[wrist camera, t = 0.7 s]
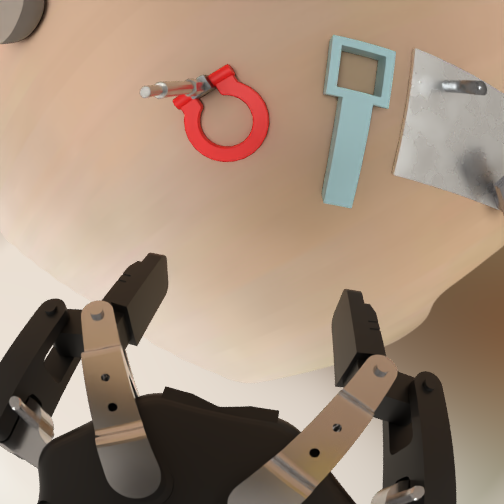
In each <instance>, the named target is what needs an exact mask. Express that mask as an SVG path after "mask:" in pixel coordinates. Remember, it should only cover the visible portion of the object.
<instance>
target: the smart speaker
mask: <svg viewBox="0 0 504 504" xmlns="http://www.w3.org/2000/svg"><path fill="white" fill-rule="evenodd" d="M43 11H44V0H0V44H9V43H14V42H18V41H20V40H23V39H24V38H26V37H27V36H29V35H30V34H31V33H32V32H33V30H34V29H35V28H36V26H37V25H38V23H39V21H40V19H41V17H42V14H43Z"/></svg>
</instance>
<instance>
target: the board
mask: <svg viewBox="0 0 504 504" xmlns="http://www.w3.org/2000/svg"><path fill="white" fill-rule="evenodd" d="M445 80H476V81H482V80H481V79H479V78H477V77H475V76H474V75H472V74H470V73H468V72H466V71H464V70H462V69H461V68H459V67H457V66H455V65H453V64H451V63H448V62H446V61H444V60H442V59H440V58H438V57H435V56H433V55H431V54H428V53H426V52H424V51H421V50H419V49H416V48H414V49H413V50H412V60H411V70H410V78H409V86H408V93H407V99H406V106H405V112H404V117H403V123H402V128H401V133H400V138H399V143H398V148H397V152H396V157H395V161H394V165H393V170H392V174H393V175H396V176H399V177H403V178H407V179H410V180H414V181H417V182H421V183H424V184H427V185H430V186H434V187H437V188H440V189H443V190H446V191H449V192H452V193H455V194H458V195H461V196H464V197H466V198H469V199H472V200H475V201H477V202H480V203H482V204H485V205H488V206H490V207H493V208H495V209H498V208H497V206H496V203H495V200H494V197H493V196H494V195H495V194H496V193H497V192H496V189H495V187H494V184H495V183H496V182H497V181H498V180H499V179H501V178H502V177H503V176H504V94H503V93H502V92H500V91H499V90H497V89H496V88H494V87H492V86H491V85H489V84H487V83H486V82H484V81H483V82H484V83H485V84H486V86H487V94H486V95H474V94H464V93H450V92H446V91H445V90H444V89H443V87H442V83H443V82H444V81H445ZM498 210H499V209H498ZM500 211H501V210H500Z"/></svg>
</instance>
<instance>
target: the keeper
mask: <svg viewBox="0 0 504 504" xmlns="http://www.w3.org/2000/svg"><path fill="white" fill-rule="evenodd" d="M494 187H495V189H496V192H497V193H496V194H495V195H494V196H493V197H494V200H495V203H496V206H497V208H498V209H499V210H501V211H502V212H503V214H504V176H503V177H502V178H501V179H499V180H498V181H497V182H496V183H495V184H494Z"/></svg>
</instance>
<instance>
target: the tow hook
mask: <svg viewBox="0 0 504 504" xmlns="http://www.w3.org/2000/svg"><path fill="white" fill-rule="evenodd" d="M234 75H235V72H234V71H233V69H232V68H231V66H230V65H228V64H227V65H225V66H223V67H222V68H220V69H218V70H217V71H215V72H213V73H212V74H210V75H209V76H208V75H201V76H199V77H198V78H196V79H187V80H185V81H171V82H158V83H156V84H155V85H151V86H144V87H142V88H141V90H140V95H141V97H143V98H148V97H156V98H158V99H161V98H166V97H173V96H177V97H176V98H175V99H173V103H174V105H175V106H176V107H177V108H178V109H179V110H182V111H183V113H184V114H185V117H184V124H185V131H186V134H187V136H188V139H189V141H190V142H191V143H192V145H193V146H194V148H195V149H196V150H198V151H199V152H200V153H201V154H202V155H204V156H206V157H208V158H210V159H212V160H217V161H222V162H231V161H237V160H240V159H244V158H246V157H247V156H249V155H251V154H252V153H254V152H255V151H256V150H257V149H258V148H259V147H260V146H261V144H262V142H263V140H264V139H265V137H266V135H267V131H268V127H269V113H268V110H267V107H266V104H265V102H264V101H263V99H262V98H261V96H260V95H259V94H258V93H257V92H256V91H255V90H253V89H252V88H251V87H249V86H247V85H245V84H243V83H241V82H238V80H237V79H236V77H235V76H234ZM215 88H217V89H218V91H219V92H220V94H222V95H231V96H235V97H237V98H239V99H241V100H242V101H243V102H245V103H246V104H247V106H248V107H249V109H250V110H251V113H252V116H253V126H252V131H251V132H250V134H249V136H248V137H247V138H246V139H245V140H244V141H243V142H241V143H240V144H237V145H234V146H226V147H225V146H220V145H217V144H215V143H213V142H211V141H210V140H209V139H208V138H207V137H206V136H205V135H204V133H203V131H202V129H201V125H200V116H201V112H202V110H203V105H202V103H201V102H200V100H199V99H198V98H201V97H202V96H204V95H205V94H207V93H208V92H210V91H212V90H213V89H215Z"/></svg>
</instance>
